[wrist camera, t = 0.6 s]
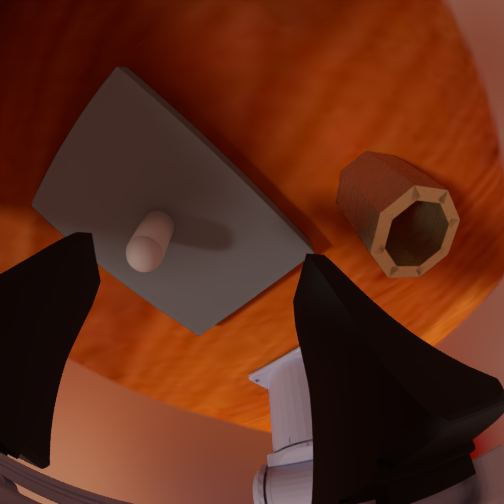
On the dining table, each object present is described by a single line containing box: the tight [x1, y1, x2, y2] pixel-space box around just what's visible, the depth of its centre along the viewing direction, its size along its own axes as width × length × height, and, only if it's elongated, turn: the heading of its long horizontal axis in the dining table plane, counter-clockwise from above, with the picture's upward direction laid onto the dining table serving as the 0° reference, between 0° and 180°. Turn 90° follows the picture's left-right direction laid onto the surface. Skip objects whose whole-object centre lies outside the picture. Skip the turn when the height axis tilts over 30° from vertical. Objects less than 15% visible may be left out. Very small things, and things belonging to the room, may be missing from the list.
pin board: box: [31, 66, 314, 336], centre depth 16 cm, size 16×11×6 cm
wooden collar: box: [336, 151, 460, 278], centre depth 15 cm, size 5×5×6 cm
